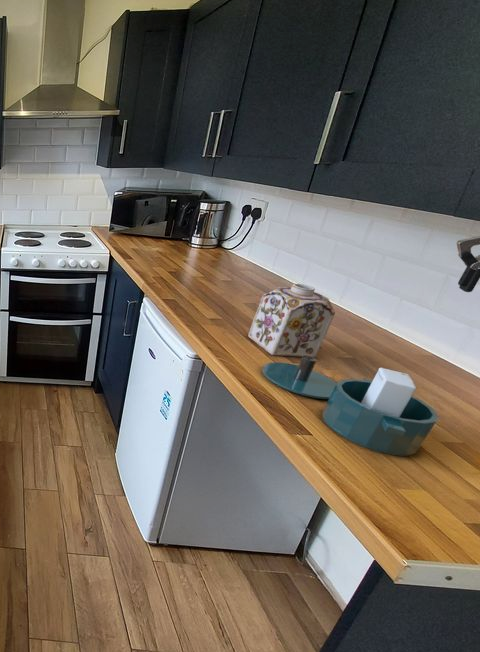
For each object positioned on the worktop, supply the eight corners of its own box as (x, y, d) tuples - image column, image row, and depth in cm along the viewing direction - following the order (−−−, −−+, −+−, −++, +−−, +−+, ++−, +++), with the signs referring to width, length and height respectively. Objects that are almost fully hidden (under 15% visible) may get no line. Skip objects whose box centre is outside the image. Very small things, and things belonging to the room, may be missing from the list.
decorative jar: (246, 336, 117) (267, 277, 110) (286, 338, 117) (310, 280, 109) (272, 356, 106) (297, 293, 99) (316, 359, 106) (346, 295, 99)
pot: (401, 418, 83) (419, 388, 80) (433, 476, 68) (457, 442, 65) (316, 395, 90) (330, 366, 87) (328, 443, 75) (345, 410, 72)
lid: (334, 379, 97) (346, 355, 94) (345, 409, 85) (358, 383, 83) (260, 360, 104) (269, 337, 102) (261, 386, 93) (271, 361, 90)
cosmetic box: (352, 416, 82) (379, 366, 77) (380, 425, 80) (409, 373, 75) (356, 432, 78) (385, 379, 73) (386, 441, 76) (418, 388, 71)
